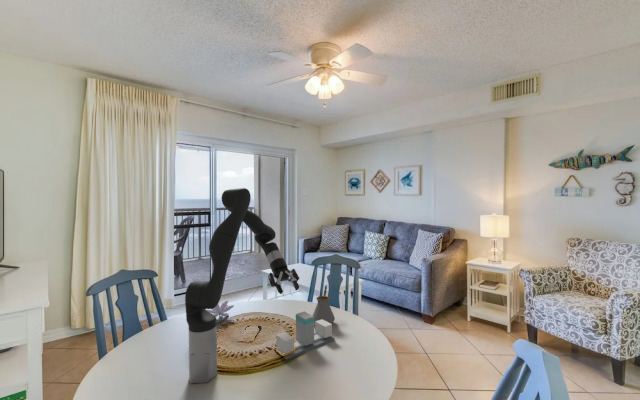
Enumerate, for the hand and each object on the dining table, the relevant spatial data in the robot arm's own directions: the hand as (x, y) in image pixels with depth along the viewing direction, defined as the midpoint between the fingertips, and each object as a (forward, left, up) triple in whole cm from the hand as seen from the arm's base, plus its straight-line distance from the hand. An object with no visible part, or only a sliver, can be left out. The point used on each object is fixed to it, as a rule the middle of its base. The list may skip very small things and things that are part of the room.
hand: (289, 291), depth 134 cm
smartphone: (+4, +19, -21) cm, 28 cm away
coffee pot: (+15, -17, -20) cm, 31 cm away
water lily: (+23, +36, -21) cm, 48 cm away
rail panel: (-10, -6, -20) cm, 23 cm away
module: (-10, -6, -18) cm, 22 cm away
